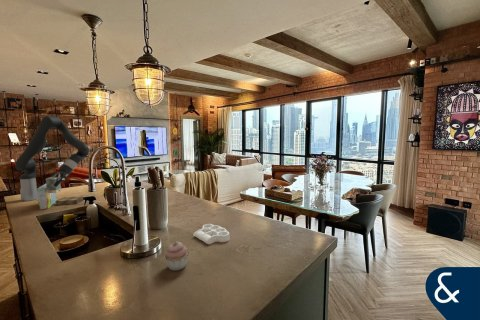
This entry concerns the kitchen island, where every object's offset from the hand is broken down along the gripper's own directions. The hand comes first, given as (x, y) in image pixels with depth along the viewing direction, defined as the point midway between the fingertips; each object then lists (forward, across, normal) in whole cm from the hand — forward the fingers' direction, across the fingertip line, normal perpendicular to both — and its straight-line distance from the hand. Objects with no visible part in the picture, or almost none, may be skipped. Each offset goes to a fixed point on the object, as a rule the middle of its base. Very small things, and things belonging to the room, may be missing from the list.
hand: (51, 185), depth 161 cm
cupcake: (+26, +128, -2) cm, 130 cm away
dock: (+2, -6, +21) cm, 22 cm away
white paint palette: (+6, +126, +18) cm, 127 cm away
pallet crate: (+2, 0, +4) cm, 5 cm away
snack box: (+10, -14, +14) cm, 22 cm away
